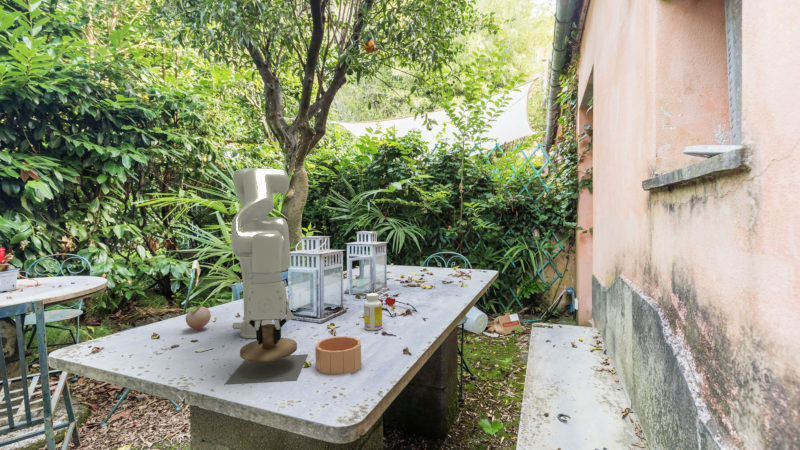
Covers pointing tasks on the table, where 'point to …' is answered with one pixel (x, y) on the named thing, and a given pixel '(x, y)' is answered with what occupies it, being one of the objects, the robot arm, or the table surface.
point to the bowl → (338, 355)
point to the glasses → (392, 303)
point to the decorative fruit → (198, 317)
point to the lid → (268, 347)
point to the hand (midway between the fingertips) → (268, 341)
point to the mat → (268, 370)
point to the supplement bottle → (372, 312)
